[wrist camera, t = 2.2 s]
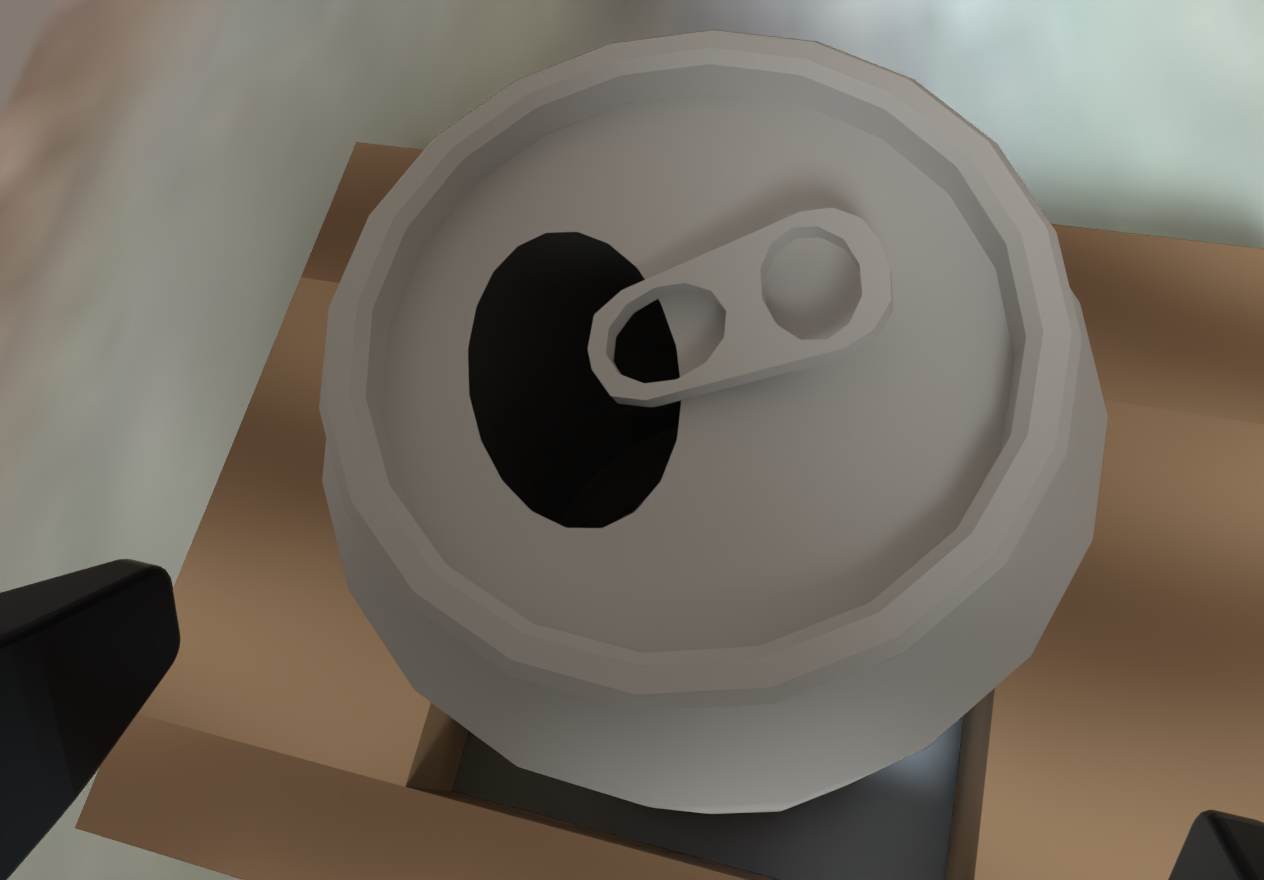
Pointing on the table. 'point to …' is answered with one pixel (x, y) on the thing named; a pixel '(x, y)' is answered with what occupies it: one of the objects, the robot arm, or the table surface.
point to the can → (710, 421)
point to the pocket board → (652, 876)
